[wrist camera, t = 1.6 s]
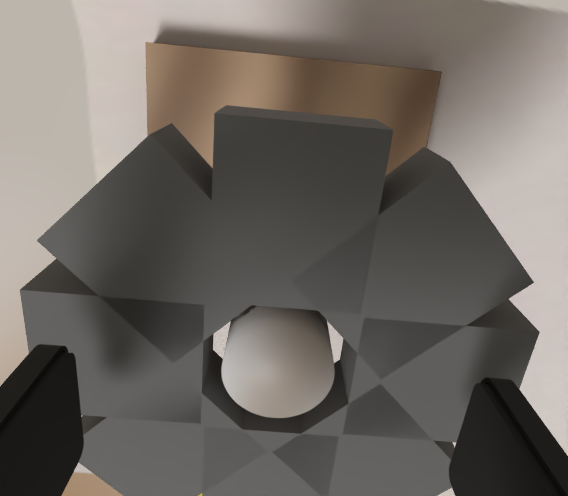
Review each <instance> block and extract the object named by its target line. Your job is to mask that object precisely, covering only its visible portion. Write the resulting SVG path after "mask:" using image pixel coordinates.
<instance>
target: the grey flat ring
mask: <svg viewBox="0 0 568 496" xmlns="http://www.w3.org/2000/svg"><path fill="white" fill-rule="evenodd" d="M393 131H394V130H393V129H391V128H389V127H388V126H386V125H384V124H383V123H381V122H379V121H378V120H376V119H366V118H355V117H345V116H334V115H324V114H314V113H303V112H293V111H282V110H272V109H261V108H251V107H240V106H230V105H225V106H224V107H223V108H221V109H220V110H218V111H217V112H215V113H214V142H213V168H212V167H211V166H210V165H209V164H208V163H207V162H206V160H205V159H204V158H203V157H202V156H201V155H200V154H199V153H198V152H197V150H196V149H195V148H194V147H193V146H192V145H191V144H190V143H189V142H188V140H187V139H186V138H185V137H184V136H183V135H182V134H181V133H180V131H179V130H178V129H177V128H176V127H175V126H174V125H173V124H172V123H171V124H169V125H167V126H165V127H163V128H161V129H159V130H157V131H155V132H153V133H152V134H150V135H149V136H148V137H147V138H146V139H144V140H143V141H142V142H141V143H140V144H139V145H138V146H137V147H136V148H135V149H134V150H133V151H132V152H131V153H130V154H128V155H127V156H126V157H125V158H124V159H123V160H122V161H121V162H120V163H119V164H118V165H117V166H116V167H115V168H114V169H112V170H111V171H110V172H109V173H108V174H107V175H106V176H105V177H104V178H103V179H102V180H101V181H100V182H99V183H98V184H96V185H95V186H94V187H93V188H92V189H91V190H90V191H89V192H88V193H87V194H86V195H85V196H84V197H83V198H82V199H80V201H78V202H77V203H76V204H75V205H74V206H73V207H72V208H71V209H70V210H69V211H68V212H67V213H66V214H64V215H63V216H62V218H60V219H59V220H58V221H57V222H56V223H55V224H54V225H53V226H52V227H51V228H50V229H49V230H47V231H46V232H45V233H44V234H43V235H42V236H41V237H40V238H39V239H38V240H37V241H38V242H39V243H40V244H41V245H42V246H43V247H45V248H46V249H47V250H48V251H49V252H50V253H51V254H53V256H55V257H56V258H57V259H56V260H54V261H53V262H52V263H51V264H50V265H49V266H47V267H46V268H45V269H44V270H43V271H42V272H40V273H39V274H38V275H37V276H36V277H35V278H33V279H32V280H31V281H30V282H29V283H27V284H26V285H25V286H24V287H23V288H22V289H20V294H21V301H22V308H23V315H24V322H25V328H26V335H27V342H28V349H29V353H30V352H31V351H32V350H33V349H34V347H36V346H37V345H39V344H47V345H60V346H66V347H67V349H68V353H73V354H74V355H75V358H76V368H77V378H78V388H79V398H80V408H81V415H83V416H82V428H83V438H84V447H83V452H82V455H81V458H80V460H79V463H80V464H82V465H83V466H84V467H86V468H87V469H88V470H90V471H91V472H92V473H94V474H95V475H96V476H98V477H99V478H101V479H102V480H103V481H105V482H106V483H107V484H109V485H110V486H111V487H113V488H114V489H115V490H117V491H118V492H119V493H121V494H122V495H123V496H198V495H200V494H202V496H437V495H439V494H441V493H442V492H444V491H446V490H448V489H450V488H452V486H451V483H450V479H449V465H450V462H451V459H452V455H453V452H454V449H455V448H454V445H453V443H452V442H457V439H458V436H459V433H460V430H461V426H462V423H463V420H464V417H465V414H466V410H467V407H468V404H469V401H470V397H471V394H472V391H473V388H474V386H475V384H476V383H481V381H482V380H483V379H484V378H486V377H488V378H502V379H510V380H512V381H513V382H514V383H515V384H516V386H517V387H518V388H520V385H521V383H522V380H523V377H524V374H525V371H526V369H527V366H528V363H529V360H530V357H531V354H532V352H533V349H534V346H535V343H536V340H537V338H538V335H539V331H538V330H537V329H536V328H535V327H534V326H533V325H532V324H531V322H530V321H529V320H528V319H527V318H526V317H525V316H524V315H523V314H522V313H521V312H520V311H519V310H518V309H517V308H516V307H515V306H514V305H513V304H512V303H511V301H510V300H509V298H510V297H512V296H513V295H515V294H517V293H518V292H520V291H521V290H523V289H525V288H526V287H528V286H529V285H531V284H532V283H534V282H533V281H532V279H531V278H530V276H529V275H528V273H527V272H526V270H525V269H524V268H523V266H522V265H521V263H520V262H519V260H518V259H517V257H516V256H515V255H514V253H513V252H512V250H511V249H510V247H509V246H508V245H507V243H506V242H505V240H504V239H503V237H502V236H501V234H500V233H499V232H498V230H497V229H496V227H495V226H494V224H493V223H492V222H491V220H490V219H489V217H488V216H487V214H486V213H485V211H484V210H483V209H482V207H481V206H480V204H479V203H478V201H477V200H476V198H475V197H474V196H473V194H472V193H471V191H470V190H469V188H468V187H467V186H466V184H465V183H464V181H463V180H462V178H461V177H460V175H459V174H458V173H457V171H456V170H455V168H454V167H453V165H452V164H451V163H450V162H449V161H447V160H446V159H444V158H442V157H441V156H439V155H437V154H436V153H434V152H432V151H430V150H429V149H427V148H425V147H423V148H422V149H420V150H419V151H418V152H416V153H415V154H414V155H412V156H411V157H410V158H409V159H407V160H406V161H405V162H403V163H402V164H401V165H399V166H398V167H397V168H396V169H394V170H393V171H392V172H390V173H389V174H388V175H386V170H387V164H388V159H389V153H390V148H391V142H392V136H393ZM385 175H386V176H385ZM251 305H256V306H269V307H281V308H293V309H306V310H318V311H319V312H320V313H321V314H322V315H323V316H324V317H325V319H326V320H327V321H328V322H329V323H330V324H331V325H332V326H333V327H334V328H335V329H336V331H337V332H338V333H339V334H340V335H341V336H342V337H343V338H344V339H343V345H342V351H341V357H340V360H339V361H337V362H336V363H334V369H335V374H334V381H333V384H332V387H331V389H330V391H329V393H328V394H327V396H326V397H325V398H324V399H323V400H322V401H321V402H320V403H319V404H318V405H317V406H315V407H314V408H313V409H311V410H309V411H307V412H305V413H303V414H300V415H296V416H292V417H287V418H271V417H264V416H260V415H257V414H254V413H252V412H250V411H248V410H246V409H244V408H243V407H241V406H240V405H239V404H237V403H236V402H235V401H234V400H233V399H232V398H231V396H230V395H229V394H228V392H227V390H226V388H225V386H224V383H223V380H222V372H221V369H222V362H223V359H222V358H221V357H220V356H219V355H218V354H217V353H216V352H215V351H214V350H213V334H214V333H215V332H216V331H218V330H219V329H220V328H222V327H223V326H224V325H226V324H227V323H228V322H230V321H231V320H232V319H234V318H235V317H236V316H238V315H239V314H240V313H242V312H243V311H244V310H246V309H247V308H248V307H250V306H251Z"/></svg>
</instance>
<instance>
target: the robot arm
mask: <svg viewBox="0 0 568 496" xmlns="http://www.w3.org/2000/svg"><path fill="white" fill-rule="evenodd" d="M83 447H84V438H83V428H82V418H81V408H80V398H79V388H78V378H77V368H76V358H75V355H74V354H73V353H68V349H67V347H66V346H60V345H47V344H39V345H37V346H36V347H34V349H33V350H32V351H31V352H30V353H29V354H28V355H27V357H26V358H25V359H24V360H23V361H22V362H21V363H20V365H19V366H18V367H17V368H16V369H15V370H14V371H13V373H12V374H11V375H10V376H9V377H8V378H7V379H6V381H5V382H4V383H3V384H2V385H1V386H0V496H61V495H62V493H63V491H64V489H65V487H66V485H67V483H68V481H69V479H70V477H71V476H72V474H73V472H74V470H75V468H76V466H77V464H78V462H79V460H80V458H81V455H82V452H83ZM449 479H450V483H451V486H452V488H453V491H454V493H455V496H568V456H567V455H566V453H565V452H564V450H563V449H562V448H561V446H560V445H559V444H558V442H557V441H556V439H555V438H554V437H553V435H552V434H551V432H550V431H549V430H548V428H547V427H546V426H545V424H544V423H543V421H542V420H541V419H540V417H539V416H538V415H537V413H536V412H535V410H534V409H533V408H532V406H531V405H530V404H529V402H528V401H527V399H526V398H525V397H524V395H523V394H522V393H521V391H520V390H519V388H518V387H517V386H516V384H515V383H514V382H513V381H512V380H510V379H502V378H488V377H486V378H484V379H483V380H482V381H481V383H476V384H475V386H474V388H473V391H472V394H471V397H470V401H469V404H468V407H467V410H466V414H465V417H464V420H463V423H462V426H461V430H460V433H459V436H458V439H457V443H456V446H455V449H454V452H453V455H452V459H451V462H450V465H449Z"/></svg>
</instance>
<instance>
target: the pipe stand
mask: <svg viewBox="0 0 568 496" xmlns="http://www.w3.org/2000/svg"><path fill="white" fill-rule="evenodd" d="M441 73H442V72H440V71H430V70H420V69H410V68H400V67H390V66H380V65H370V64H360V63H350V62H340V61H330V60H320V59H310V58H300V57H290V56H280V55H269V54H259V53H249V52H239V51H229V50H219V49H209V48H199V47H189V46H179V45H169V44H159V43H149V42H146V83H147V128H148V136H149V135H150V134H152V133H153V132H155V131H157V130H159V129H161V128H163V127H165V126H167V125H169V124H171V123H172V124H173V125H174V126H175V127H176V128H177V129H178V130H179V131H180V133H181V134H182V135H183V136H184V137H185V138H186V139H187V140H188V142H189V143H190V144H191V145H192V146H193V147H194V148H195V149H196V150H197V152H198V153H199V154H200V155H201V156H202V157H203V158H204V159H205V160H206V162H207V163H208V164H209V165H210V166H211V167H212V168H213V142H214V113H215V112H217V111H218V110H220V109H221V108H223V107H224V106H225V105H230V106H240V107H251V108H261V109H272V110H282V111H293V112H303V113H314V114H324V115H334V116H345V117H355V118H366V119H376V120H378V121H379V122H381V123H383V124H384V125H386V126H388V127H389V128H391V129H393V130H394V131H393V136H392V142H391V148H390V153H389V159H388V164H387V170H386V175H388V174H389V173H390V172H392V171H393V170H394V169H396V168H397V167H398V166H399V165H401V164H402V163H403V162H405V161H406V160H407V159H409V158H410V157H411V156H412V155H414V154H415V153H416V152H418V151H419V150H420V149H422V148H423V147H425V148H426V145H427V140H428V135H429V130H430V126H431V121H432V116H433V111H434V106H435V102H436V97H437V92H438V87H439V82H440V78H441ZM386 175H385V176H386ZM221 372H222V380H223V383H224V386H225V388H226V390H227V392H228V394H229V395H230V396H231V398H232V399H233V400H234V401H235V402H236V403H237V404H239V405H240V406H241V407H243V408H244V409H246V410H248V411H250V412H252V413H254V414H257V415H260V416H264V417H271V418H287V417H292V416H296V415H300V414H303V413H305V412H307V411H309V410H311V409H313V408H314V407H315V406H317V405H318V404H319V403H320V402H321V401H322V400H323V399H324V398H325V397H326V396H327V394H328V393H329V391H330V389H331V387H332V384H333V381H334V374H335V369H334V361H333V355H332V349H331V343H330V337H329V331H328V325H327V320H326V319H325V317H324V316H323V315H322V314H321V313H320V312H319V311H318V310H306V309H293V308H281V307H269V306H256V305H251V306H250V307H248V308H247V309H246V310H244V311H243V312H242V313H240V314H239V315H238V316H236V317H235V318H234V319H232V320H231V324H230V329H229V333H228V338H227V343H226V348H225V352H224V357H223V362H222V369H221Z"/></svg>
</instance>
